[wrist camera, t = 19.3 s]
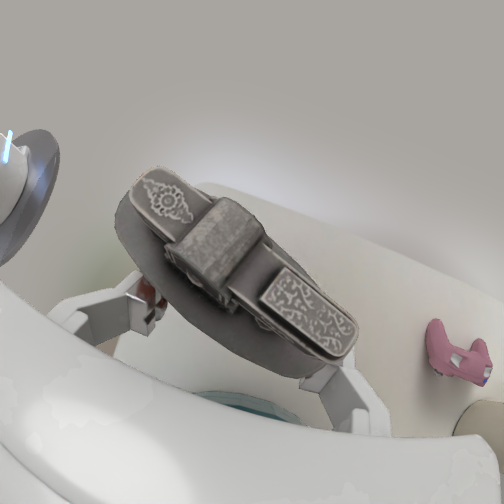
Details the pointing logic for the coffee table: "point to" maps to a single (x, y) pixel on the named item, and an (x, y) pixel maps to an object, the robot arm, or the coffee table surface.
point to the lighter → (231, 276)
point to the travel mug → (485, 426)
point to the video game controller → (457, 356)
